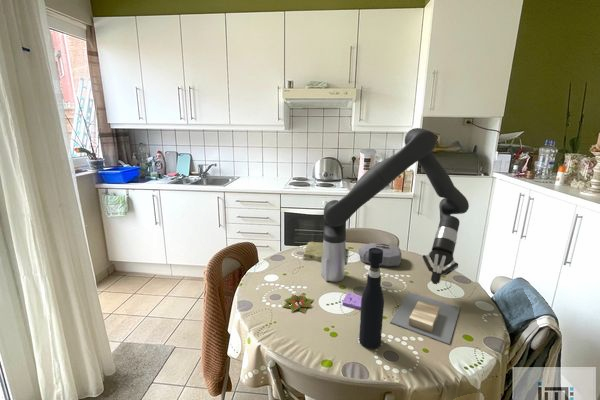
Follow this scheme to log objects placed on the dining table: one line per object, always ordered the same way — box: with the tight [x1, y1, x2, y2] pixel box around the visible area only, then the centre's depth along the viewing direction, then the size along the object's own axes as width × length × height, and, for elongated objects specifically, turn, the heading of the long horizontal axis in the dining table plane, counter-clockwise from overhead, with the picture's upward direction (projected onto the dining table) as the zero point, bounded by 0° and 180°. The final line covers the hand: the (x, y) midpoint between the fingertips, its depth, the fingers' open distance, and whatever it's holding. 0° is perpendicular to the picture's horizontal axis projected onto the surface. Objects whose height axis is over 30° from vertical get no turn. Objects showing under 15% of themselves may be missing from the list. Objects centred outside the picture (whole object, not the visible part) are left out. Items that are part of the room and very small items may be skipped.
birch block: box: [409, 300, 440, 332], centre depth 101 cm, size 3×7×12 cm
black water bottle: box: [358, 248, 385, 350], centre depth 88 cm, size 6×6×30 cm
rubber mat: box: [389, 291, 461, 346], centre depth 104 cm, size 22×18×1 cm
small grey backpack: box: [358, 242, 402, 268], centre depth 144 cm, size 15×8×20 cm
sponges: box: [341, 292, 362, 311], centre depth 110 cm, size 7×13×2 cm, turn 66°
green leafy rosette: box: [282, 292, 314, 314], centre depth 110 cm, size 12×12×5 cm
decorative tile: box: [302, 241, 347, 263], centre depth 151 cm, size 19×20×4 cm
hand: (434, 283), depth 110 cm, fingers closed
